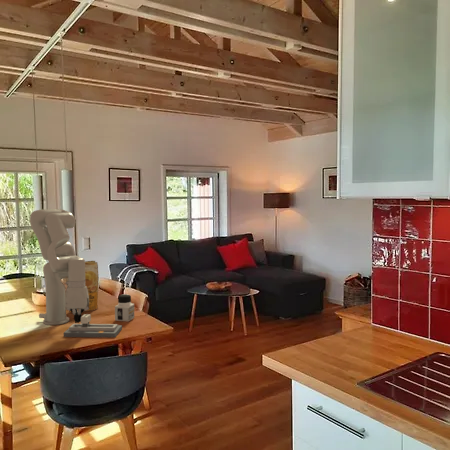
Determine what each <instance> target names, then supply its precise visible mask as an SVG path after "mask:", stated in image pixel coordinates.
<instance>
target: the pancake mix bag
mask: <svg viewBox="0 0 450 450" xmlns="http://www.w3.org/2000/svg"><path fill="white" fill-rule="evenodd" d="M65 279H66V281H65V282H68V281H69V280H68V278H65ZM99 279H100V278H99V264H98V262H97V261H96V260H87V261H86V260H85V286H87V289H88V295H89V309H88V310H86V311H83V312H82V313H85V312H91V311H96V310H97V309H99V306H98V300H99V286H100V285H99V283H100V282H99ZM66 286H67V287H69V286H68V285H67V284H66ZM67 287H66V288H67ZM77 311H78V309H77ZM69 313H72V312H71V311H69V310H68V314H69ZM72 314H73V313H72Z"/></svg>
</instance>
